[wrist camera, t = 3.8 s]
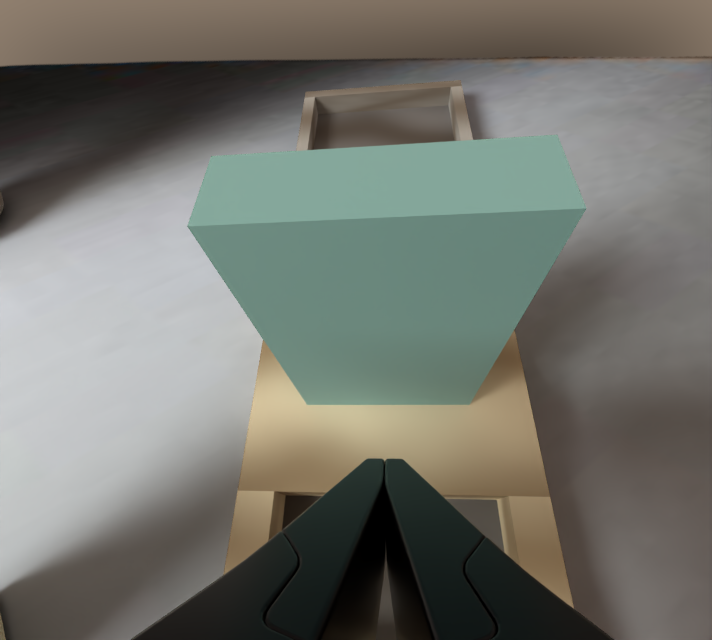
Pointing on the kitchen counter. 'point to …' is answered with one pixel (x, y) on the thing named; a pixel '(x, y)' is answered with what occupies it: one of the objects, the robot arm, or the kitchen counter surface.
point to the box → (1, 630)
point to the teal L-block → (388, 258)
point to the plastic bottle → (1, 203)
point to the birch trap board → (399, 422)
